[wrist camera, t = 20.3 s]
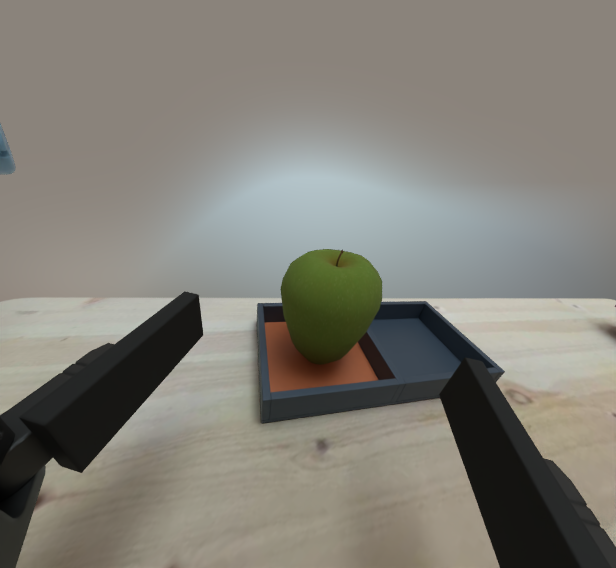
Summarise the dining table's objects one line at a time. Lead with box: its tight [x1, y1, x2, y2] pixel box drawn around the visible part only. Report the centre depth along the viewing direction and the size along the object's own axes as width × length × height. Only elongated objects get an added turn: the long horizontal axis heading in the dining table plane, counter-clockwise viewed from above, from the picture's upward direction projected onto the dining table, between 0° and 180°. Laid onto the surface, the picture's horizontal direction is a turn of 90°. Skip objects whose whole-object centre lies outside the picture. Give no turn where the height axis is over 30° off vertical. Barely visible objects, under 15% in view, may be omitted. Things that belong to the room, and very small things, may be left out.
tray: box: [257, 301, 505, 423], centre depth 24 cm, size 23×12×3 cm, turn 103°
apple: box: [281, 249, 382, 365], centre depth 20 cm, size 9×8×12 cm
